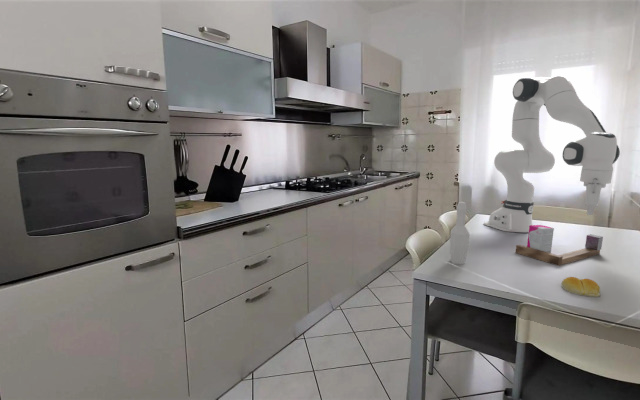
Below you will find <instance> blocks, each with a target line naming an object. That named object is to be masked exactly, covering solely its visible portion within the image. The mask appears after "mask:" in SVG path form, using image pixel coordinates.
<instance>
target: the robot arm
mask: <svg viewBox="0 0 640 400" xmlns="http://www.w3.org/2000/svg"><path fill="white" fill-rule="evenodd" d="M512 96H513V98H514V100H516V102H515V104H514V108H513V112H512V113H513V114H512V119H511V120H512V121H511V123H512V124H511V137H512V139H513V141H515V142H516V143H519V144H520V145H521V146H522V148H523V149H508V150H502V151H499V152H497V154H496V155H495V157H494V162H493V164H494V166H495V169H496V170H497V171H498V172H499V173H501V175H502V176H504V179H505V181H506V184H507V186H506V187H507V194H506V199H505V200H503V201H502V200H501V204H503V205H502V206H501V207H499V208H498V209H496V210H494V211H492V212H491V213H490V214H489V218H488V220H486V221H484V222H483V225H484V226H488V227H490V228H493V229H497V230H500V231H503V232H509V233H510V232H514V233H515V232H516V233H529V226H530V225H533V211H534V204H535V203H534V194H535V193H534V192H535V186H534V184H533V183H532V182H530V181H528V180H526V179H525V178H524V176H523V175H524V174H541V173H547V172H550V171H551V170H552V169H553V168H554V166H555V162H556V161H555V160H556V159H555V155H554V154H553V153H552V152H551V151H550V150H548V149H547V148H546V147H545V146H544V145H543V142H542V141H541V138H540V111H541V108H542V107H543V106H544V107H545V108H546V112H547V113H548V115H549V116H550V117H551V118H552V119H553V120H555V121H559V122H563V123H566V124H570V125H572V126H573V125H574V126H575V127H577V128H579V129H581V130H582V132H583V134H584V135H585V137H583V138H580V139H578V140H574V141H570V142H569V143H568V144H566V145H565V147H564V148H563V150H562V159H563V161H564V163H566V165H569V166H573V167H581V172H580V177H579V182H582V183H583V186H584V187H585V188H586V189H585V192H586V193H585V201H584V205H585V206H586V207H587V208H586V215H588V216H593V214H594V210H595V208H596V207H598V206H599V203H600V198H601V193H602V191H601V190H602V189H603V188H604V189H605V188H606V187H607V186H606V185H607V184H611V183H612V177H613V172H614V167H613V165H614V164H615V163H616V161H617V160H619V157H620V155H621V153H620V147H619V145H618V144H617V136H616V135H615V134H614V133H611V132H607V131H606V130H605V128H604V126H603V125H602V123H601V122H600V120H599V119H598V117H597V116H596V114H595V113H594V112H593V110H591V109H590V108H589V107H588V106H587V105H585V103H583V101H582V100H581V99H580V98H579V96H578V94H577V91H576V89H575V88H574V86H573V84H572V82H571V81H570V80H569V78H568V77H566V76H565V75H560V74H558V75H554V76H551V77H545V76H544V77H543V76H539V77H535V76H534V77H530V76H529V77H528V76H527V77H521V78H519V79H518V80H516V82H515V83H514V85H513V87H512Z"/></svg>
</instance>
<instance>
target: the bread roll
mask: <svg viewBox="0 0 640 400" xmlns="http://www.w3.org/2000/svg"><path fill="white" fill-rule="evenodd" d="M561 287H562V289H563V290H565V291H566V292H569V293H571V294H574V295H575V294H576V295H578V296H585V297H591V298H594V297H595V298H597V297H600V296H601V286H600V285H598V283H597V282H596V281H594V280H592V279H589V278H581V279H580V278H577V277H576V276H569V277H566V278H563V280H562V281H561Z"/></svg>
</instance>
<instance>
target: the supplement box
mask: <svg viewBox="0 0 640 400" xmlns="http://www.w3.org/2000/svg"><path fill="white" fill-rule="evenodd" d="M554 230H555V228H553V227H550V226H546V225H543V224H536V225H535V224H532V225H530V226H529V232H528V236H527V242H526V247H530V248H534V249H537V250H541V251H544V252H548V253H552V248H553V247H552V245H553V236H554Z"/></svg>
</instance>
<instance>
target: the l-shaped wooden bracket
mask: <svg viewBox="0 0 640 400" xmlns="http://www.w3.org/2000/svg"><path fill="white" fill-rule="evenodd" d="M603 240H604V236H601V235H597V234H587V235H586V240H585V244H584V248H581V249H578V250H574V251H570V252H565V253H563V254H554V253H552V252H551V253H548V252H544V251H541V250H537V249H534V248H530V247H527V245H523V244H517V245H515V254H518V255H522V256H526V257H528V258H533V259H535V260H539V261H540V262H541V261H542V262H546V263H549V264H552V265H554V266H562V265H565V264H568V263H569V264H570V263H572V262H576V261H580V260H584V259H588V258H589V257H594V256H596V255H600V253H601V250H602V246H603Z"/></svg>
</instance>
